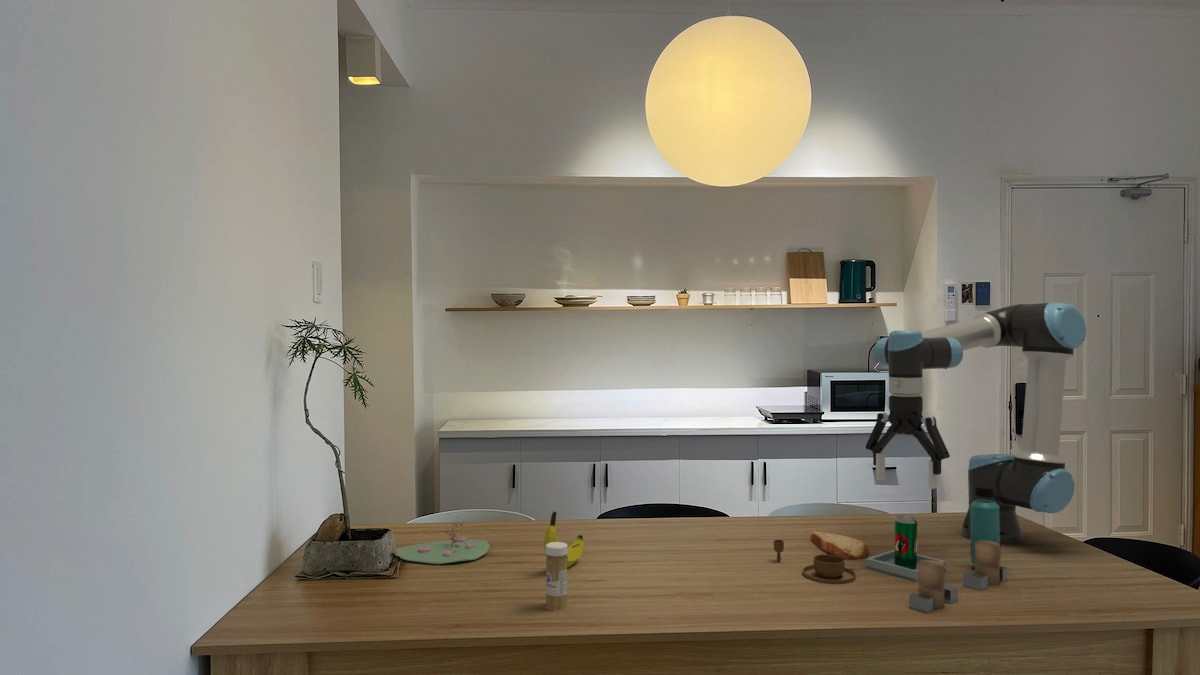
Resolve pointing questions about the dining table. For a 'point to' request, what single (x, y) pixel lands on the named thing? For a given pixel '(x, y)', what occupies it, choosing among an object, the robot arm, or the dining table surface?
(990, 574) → the dowel far
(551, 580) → the sprinkles bottle
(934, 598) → the dowel near
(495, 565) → the dining table surface
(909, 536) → the soda can
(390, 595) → the dining table surface
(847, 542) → the bread slice
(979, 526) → the beverage bottle
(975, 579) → the clip rack
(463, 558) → the plant
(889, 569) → the tray
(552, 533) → the banana
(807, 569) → the place setting
